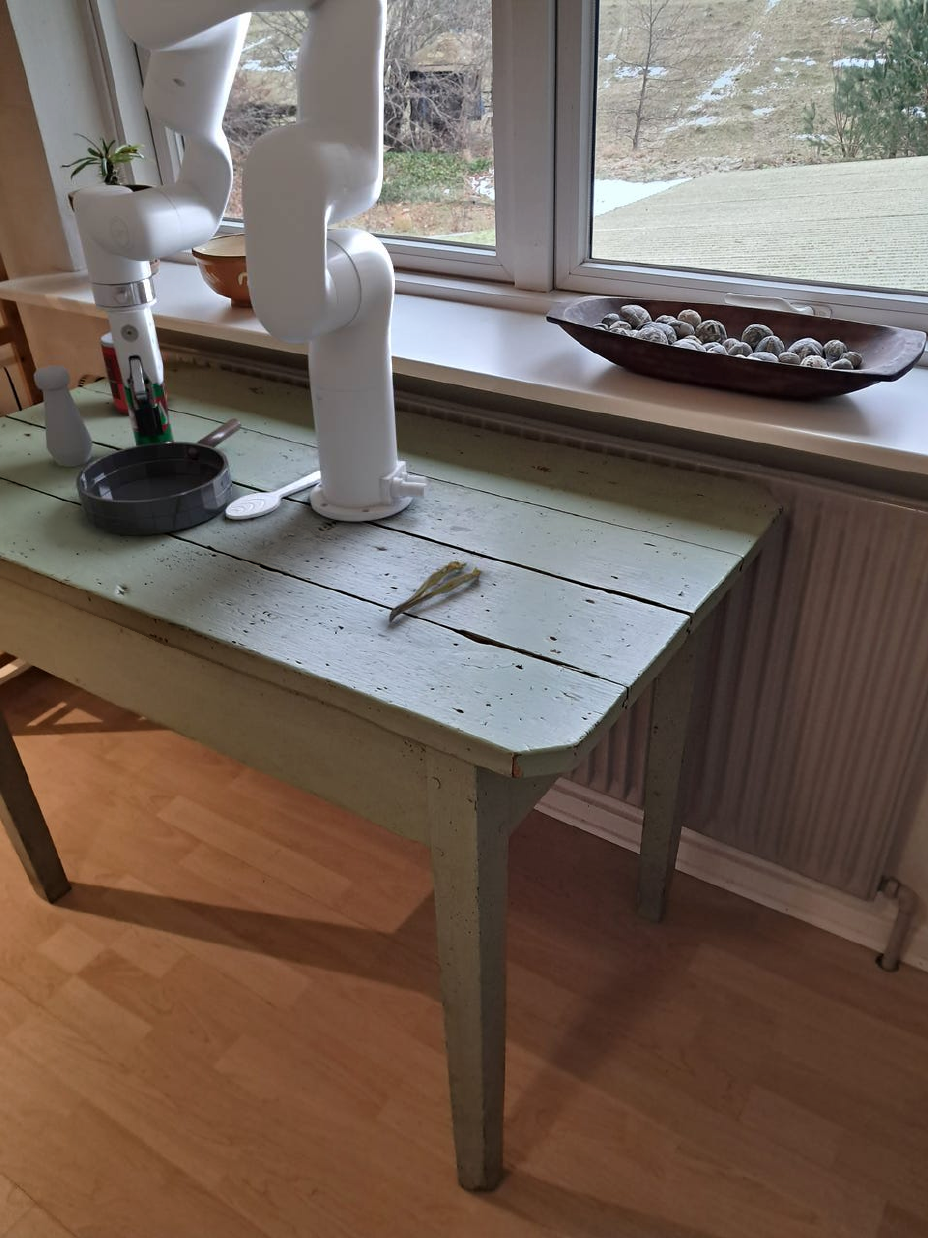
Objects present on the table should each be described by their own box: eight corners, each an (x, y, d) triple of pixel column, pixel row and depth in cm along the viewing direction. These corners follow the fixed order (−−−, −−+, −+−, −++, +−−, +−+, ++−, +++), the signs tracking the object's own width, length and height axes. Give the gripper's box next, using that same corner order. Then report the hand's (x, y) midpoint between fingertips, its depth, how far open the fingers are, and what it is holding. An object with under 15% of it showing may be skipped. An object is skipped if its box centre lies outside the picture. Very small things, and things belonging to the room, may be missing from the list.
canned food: (178, 402, 151) (165, 331, 145) (139, 418, 145) (123, 346, 139) (144, 394, 154) (130, 325, 148) (105, 409, 149) (88, 338, 143)
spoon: (352, 474, 126) (352, 470, 126) (243, 524, 115) (242, 520, 114) (325, 464, 129) (324, 460, 129) (215, 511, 118) (214, 507, 117)
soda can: (137, 447, 136) (118, 363, 129) (174, 442, 137) (157, 358, 130) (138, 460, 132) (119, 374, 125) (176, 455, 133) (159, 370, 126)
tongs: (380, 619, 96) (379, 602, 95) (455, 570, 106) (455, 554, 104) (413, 632, 94) (413, 614, 93) (487, 581, 103) (487, 564, 102)
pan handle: (244, 429, 134) (242, 417, 133) (197, 462, 125) (195, 449, 124) (232, 428, 135) (230, 415, 134) (186, 460, 126) (183, 447, 125)
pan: (259, 482, 125) (254, 450, 122) (181, 546, 111) (174, 510, 108) (142, 466, 130) (135, 435, 128) (53, 525, 116) (43, 491, 113)
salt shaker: (103, 453, 134) (80, 361, 127) (85, 469, 130) (61, 375, 123) (63, 452, 135) (38, 360, 128) (44, 469, 130) (17, 375, 123)
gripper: (154, 306, 116) (181, 447, 126) (155, 274, 130) (179, 403, 140) (89, 312, 115) (121, 454, 125) (97, 279, 129) (125, 409, 139)
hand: (152, 426), depth 132 cm, fingers closed on soda can, 5 cm apart
